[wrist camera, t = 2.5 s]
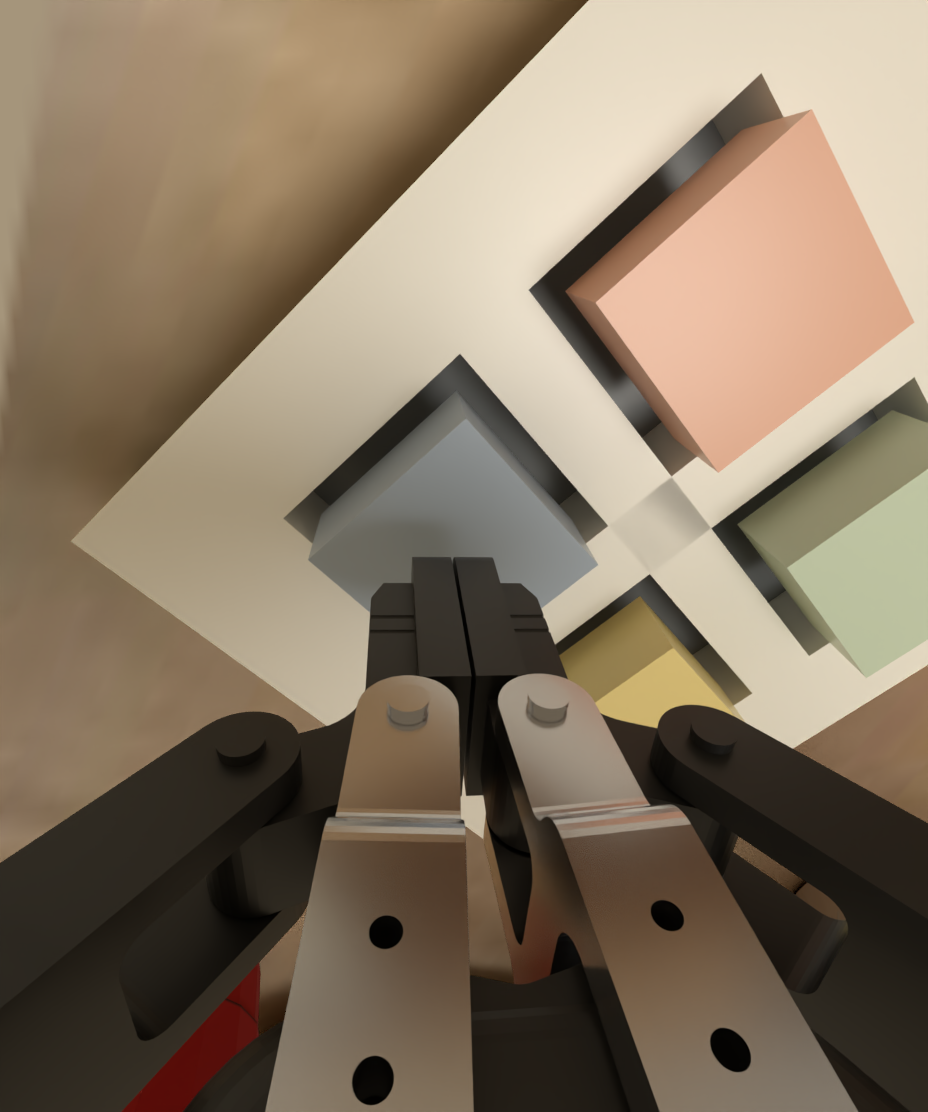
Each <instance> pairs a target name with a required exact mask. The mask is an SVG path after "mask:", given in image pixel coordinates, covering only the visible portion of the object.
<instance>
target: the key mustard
mask: <svg viewBox="0 0 928 1112" xmlns="http://www.w3.org/2000/svg"><path fill="white" fill-rule="evenodd" d="M559 657H560V659H561V662H562V664H563V667H564V670H565V672H566V675H567V678H568V680H570V681H572V682H574V683H576V684H577V685H579V686H581V687H582V688H583V689H584V690H586V691H587V692H588V693H589V695H590V696H591V697H592V699H593V700H594V702H595V704H596V706H597V707H598V709H599V711H600V713H602V714H604V715H606V716H609V717H611V718H614V719H618V720H621V721H626V722H630V723H635V724H640V725H644V726H649V727H654V728H657V726H658V723H659V720H660V718H661V716H662V715H663V714H664V713H665V712H666V711H668V710H669V709H671V708H674V707H677V706H682V705H702V706H707V707H712V708H715V709H718V710H721V711H724V712H726V713H728V714H730V715H732V716H734V717H736V718H738V719H740V720H742V721H744V720H743V718H742V717H741V715H740V714H739V713H738V711H737V710H736V708H735V707H734V705H733V704H732V702H731V701H730V700H729V698H728V697H727V695H726V694H725V692H724V691H723V690H722V688H721V687H720V686H719V685H718V683H717V682H716V681H715V680H714V679H713V678H712V677H711V676H710V674H709V673H708V672H707V671H706V670H705V669H704V668H703V667H702V665H701V664H700V663H699V662H698V661H697V660H696V659H695V658H694V656H693V655H692V654H691V653H690V652H689V651H688V650H687V649H686V647H685V646H684V645H683V644H682V643H681V642H680V641H679V640H678V638H677V637H676V636H675V635H674V634H673V633H672V632H671V631H670V629H669V628H668V627H667V626H666V625H665V624H664V623H663V622H662V620H661V619H660V618H659V617H658V616H657V615H656V614H655V613H654V611H653V610H652V609H651V608H650V607H649V606H648V605H647V604H646V603H645V601H644V600H643V599H642V598H641V597H640V596H639V597H638V598H637V599H635V600H634V601H632V602H631V603H630V604H628V605H627V606H626V607H624V608H623V609H622V610H620V611H619V612H618V613H616V614H615V615H613V616H612V617H611V618H609V619H608V620H607V621H605V622H604V623H603V624H601V625H600V626H599V627H597V628H596V629H595V630H593V631H592V632H590V633H589V634H588V635H586V636H585V637H584V638H582V639H581V640H580V641H578V642H577V643H576V644H574V645H573V646H571V647H570V648H569V649H567V650H566V651H565V652H563V653H562V654H561V655H559ZM744 722H745V721H744Z"/></svg>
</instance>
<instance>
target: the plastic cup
mask: <svg viewBox="0 0 928 1112" xmlns="http://www.w3.org/2000/svg"><path fill="white" fill-rule="evenodd" d="M259 995H260V966H259V963H258V964H257V965H256V966H255V967H254V968H253V969H252V970H251V972H250V973H249V974H248V975H247V976H246V977H245V978H244V979H243V980H242V981H241V982H240V984H239V985H238V986H237V987H236V988H235V989H234V990H233V991H232V992H231V993H230V994H229V995H228V997H227V998H226V999H225V1000H224V1001H223V1002H222V1003H221V1004H220V1005H219V1006H218V1007H217V1008H216V1010H215V1011H214V1012H213V1013H212V1014H211V1015H210V1016H209V1017H208V1018H207V1019H206V1020H205V1021H204V1023H203V1024H202V1025H201V1026H200V1027H199V1028H198V1029H197V1030H196V1031H195V1032H194V1033H193V1035H192V1036H191V1037H190V1038H189V1039H188V1040H187V1041H186V1042H185V1043H184V1044H183V1045H182V1046H181V1048H180V1049H179V1050H178V1051H177V1052H176V1053H175V1054H174V1055H173V1056H172V1057H171V1058H170V1059H169V1061H168V1062H167V1063H166V1064H165V1065H164V1066H163V1067H162V1068H161V1069H160V1070H159V1071H158V1072H157V1074H156V1075H155V1076H154V1077H153V1078H152V1079H151V1080H150V1081H149V1082H148V1083H147V1084H146V1085H145V1087H144V1088H143V1089H142V1090H141V1091H140V1092H139V1093H138V1094H137V1095H136V1096H135V1097H134V1099H133V1100H132V1101H131V1102H130V1103H129V1104H128V1105H127V1106H126V1107H125V1108H124V1109H123V1110H122V1112H183V1111H184V1109H185V1108H186V1107H187V1106H188V1104H189V1103H190V1102H191V1101H192V1099H193V1098H194V1097H195V1096H196V1095H197V1093H198V1092H199V1091H200V1090H201V1089H202V1088H203V1086H204V1085H205V1084H206V1083H207V1082H208V1081H209V1080H210V1079H211V1078H212V1077H213V1076H214V1075H215V1074H216V1073H217V1072H218V1071H219V1070H220V1069H221V1068H222V1067H223V1066H224V1065H225V1064H226V1063H227V1062H228V1061H229V1060H230V1059H231V1058H232V1057H233V1056H234V1055H236V1054H237V1053H238V1052H239V1051H240V1050H242V1049H243V1048H244V1047H245V1046H247V1045H248V1044H249V1043H250V1042H251V1041H253V1040H254V1039H255V1038H257V1037H258V1036H259V1031H258V1018H259Z"/></svg>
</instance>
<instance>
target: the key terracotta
mask: <svg viewBox="0 0 928 1112" xmlns="http://www.w3.org/2000/svg"><path fill="white" fill-rule="evenodd" d="M565 292H566V293H567V294H568V296H569V297H570V298H571V300H572V301H573V303H574V304H575V305H576V307H577V308H578V309H579V311H580V312H581V313H582V315H583V316H584V317H585V319H586V320H587V321H588V323H589V324H590V326H591V327H592V328H593V330H594V331H595V332H596V334H597V335H598V336H599V338H600V339H601V340H602V342H603V343H604V344H605V346H606V347H607V349H608V350H609V351H610V353H611V354H612V355H613V357H614V358H615V359H616V361H617V362H618V363H619V365H620V366H621V368H622V369H623V370H624V372H625V373H626V374H627V376H628V377H629V378H630V380H631V381H632V382H633V384H634V385H635V386H636V388H637V389H638V391H639V392H640V393H641V395H642V396H643V397H644V399H645V400H646V401H647V403H648V404H649V405H650V407H651V408H652V409H653V411H654V412H655V414H656V415H657V416H658V418H659V419H660V420H661V422H662V423H663V424H664V426H665V427H666V428H667V430H668V431H669V432H670V434H671V435H672V437H673V438H674V439H675V440H676V441H678V442H679V443H680V444H682V445H683V446H684V447H685V448H687V449H688V450H689V451H691V452H692V453H693V454H695V455H696V456H697V457H698V458H700V459H701V460H702V461H704V462H705V463H706V464H707V465H709V466H710V467H711V468H713V469H714V470H715V471H717V472H718V473H719V472H720V471H721V470H723V469H724V468H725V467H726V466H728V465H729V464H730V463H732V462H733V461H734V460H736V459H737V458H738V457H740V456H741V455H742V454H743V453H745V452H746V451H747V450H749V449H750V448H751V447H753V446H754V445H755V444H756V443H758V442H759V441H760V440H762V439H763V438H764V437H766V436H767V435H768V434H769V433H771V432H772V431H773V430H775V429H776V428H777V427H779V426H780V425H781V424H783V423H784V422H785V421H786V420H788V419H789V418H790V417H792V416H793V415H794V414H796V413H797V412H798V411H799V410H801V409H802V408H803V407H805V406H806V405H807V404H809V403H810V402H811V401H813V400H814V399H815V398H816V397H818V396H819V395H820V394H822V393H823V392H824V391H826V390H827V389H828V388H829V387H831V386H832V385H833V384H835V383H836V382H837V381H839V380H840V379H841V378H842V377H844V376H845V375H846V374H848V373H849V372H850V371H852V370H853V369H854V368H856V367H857V366H858V365H859V364H861V363H862V362H863V361H865V360H866V359H867V358H869V357H870V356H871V355H872V354H874V353H875V352H876V351H878V350H879V349H880V348H882V347H883V346H884V345H886V344H887V343H888V342H889V341H891V340H892V339H893V338H895V337H896V336H897V335H899V334H900V333H901V332H902V331H904V330H905V329H906V328H908V327H909V326H910V325H912V324H913V323H914V320H913V318H912V316H911V314H910V312H909V310H908V308H907V306H906V304H905V301H904V299H903V297H902V295H901V293H900V291H899V289H898V287H897V285H896V283H895V281H894V279H893V277H892V274H891V272H890V270H889V268H888V266H887V264H886V262H885V260H884V258H883V256H882V254H881V252H880V250H879V247H878V245H877V243H876V241H875V239H874V237H873V235H872V233H871V231H870V229H869V227H868V225H867V223H866V220H865V218H864V216H863V214H862V212H861V210H860V208H859V206H858V204H857V202H856V200H855V198H854V196H853V193H852V191H851V189H850V187H849V185H848V183H847V181H846V179H845V177H844V175H843V173H842V171H841V169H840V166H839V164H838V162H837V160H836V158H835V156H834V154H833V152H832V150H831V148H830V146H829V144H828V142H827V139H826V137H825V135H824V133H823V131H822V129H821V127H820V125H819V123H818V121H817V119H816V117H815V115H814V112H813V110H812V109H811V110H807V111H804V112H800V113H797V114H794V115H790V116H787V117H783V118H780V119H777V120H773V121H770V122H766V123H763V124H760V125H756V126H753V127H749V128H746V129H743V130H741V131H740V132H739V133H738V134H737V135H736V136H734V137H733V138H732V139H731V140H730V141H729V142H728V143H727V144H726V145H725V146H724V147H722V148H721V149H720V150H719V151H718V152H717V153H716V154H715V155H714V156H713V157H712V158H710V159H709V160H708V161H707V162H706V163H705V164H704V165H703V166H702V167H701V168H699V169H698V170H697V171H696V172H695V173H694V174H693V175H692V176H691V177H690V178H689V179H687V180H686V181H685V182H684V183H683V184H682V185H681V186H680V187H679V188H678V189H676V190H675V191H674V192H673V193H672V194H671V195H670V196H669V197H668V198H667V199H666V200H664V201H663V202H662V203H661V204H660V205H659V206H658V207H657V208H656V209H655V210H653V211H652V212H651V213H650V214H649V215H648V216H647V217H646V218H645V219H644V220H643V221H641V222H640V223H639V224H638V225H637V226H636V227H635V228H634V229H633V230H632V231H631V232H629V233H628V234H627V235H626V236H625V237H624V238H623V239H622V240H621V241H620V242H618V243H617V244H616V245H615V246H614V247H613V248H612V249H611V250H610V251H609V252H608V253H606V254H605V255H604V256H603V257H602V258H601V259H600V260H599V261H598V262H597V263H595V264H594V265H593V266H592V267H591V268H590V269H589V270H588V271H587V272H586V273H585V274H583V275H582V276H581V277H580V278H579V279H578V280H577V281H576V282H575V283H574V284H573V285H571V286H570V287H569V288H568V289H567V290H566V291H565Z"/></svg>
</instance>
